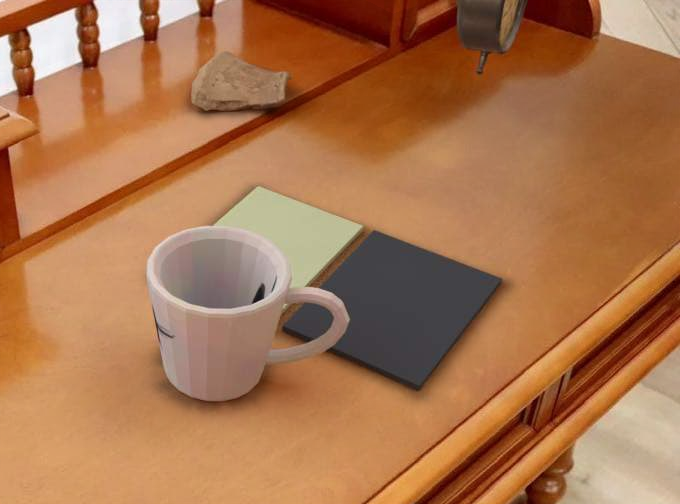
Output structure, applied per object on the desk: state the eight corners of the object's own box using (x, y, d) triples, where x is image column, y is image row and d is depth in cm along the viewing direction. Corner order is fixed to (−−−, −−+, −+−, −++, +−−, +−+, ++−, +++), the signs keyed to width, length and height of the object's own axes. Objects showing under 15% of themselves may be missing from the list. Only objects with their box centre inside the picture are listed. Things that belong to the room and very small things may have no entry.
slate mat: (501, 284, 92) (502, 278, 92) (418, 391, 83) (419, 386, 82) (372, 234, 98) (373, 229, 97) (281, 331, 88) (282, 325, 88)
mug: (158, 317, 89) (159, 216, 83) (342, 340, 87) (359, 238, 80) (134, 406, 82) (133, 303, 75) (335, 433, 80) (352, 330, 73)
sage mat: (362, 231, 98) (363, 225, 98) (270, 326, 89) (271, 320, 88) (257, 190, 103) (258, 185, 102) (159, 277, 93) (159, 271, 93)
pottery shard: (189, 123, 114) (282, 116, 111) (181, 84, 112) (276, 75, 108) (215, 80, 122) (303, 72, 119) (208, 43, 120) (297, 33, 116)
